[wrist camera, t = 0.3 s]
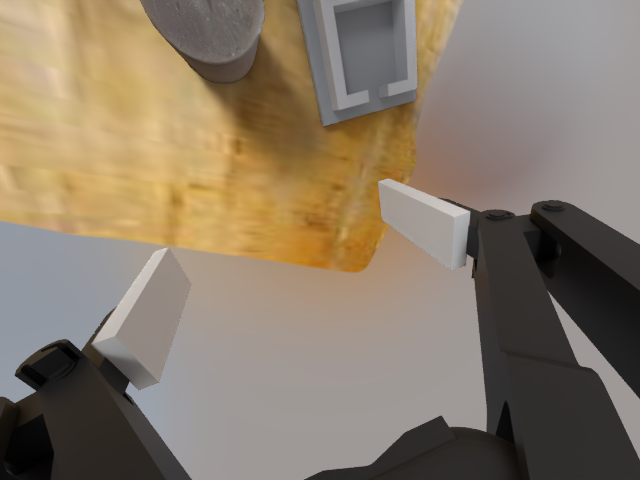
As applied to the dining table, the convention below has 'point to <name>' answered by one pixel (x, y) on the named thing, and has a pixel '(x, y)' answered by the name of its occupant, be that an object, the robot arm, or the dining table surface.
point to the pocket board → (360, 55)
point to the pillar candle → (211, 33)
